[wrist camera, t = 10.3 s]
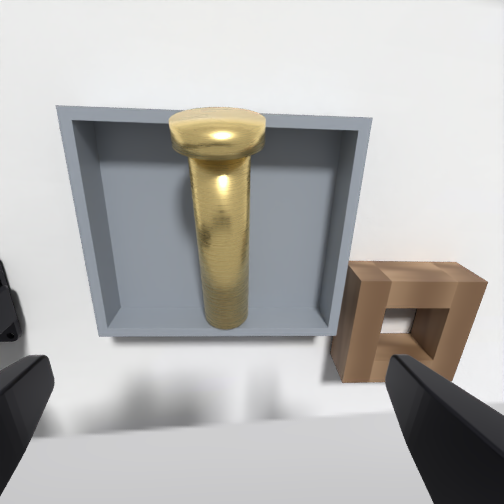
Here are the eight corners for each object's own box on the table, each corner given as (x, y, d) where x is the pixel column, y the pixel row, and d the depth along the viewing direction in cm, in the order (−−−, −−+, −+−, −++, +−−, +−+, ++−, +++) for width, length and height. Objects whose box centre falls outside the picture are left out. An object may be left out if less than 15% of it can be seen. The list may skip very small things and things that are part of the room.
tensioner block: (330, 353, 24) (342, 382, 22) (345, 260, 21) (361, 281, 19) (427, 352, 25) (452, 381, 22) (456, 262, 22) (488, 282, 19)
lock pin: (259, 336, 19) (270, 133, 11) (193, 338, 19) (160, 133, 11) (255, 289, 22) (261, 107, 15) (198, 291, 22) (175, 106, 14)
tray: (116, 309, 22) (98, 336, 19) (84, 108, 17) (55, 105, 14) (323, 310, 23) (336, 335, 20) (351, 118, 18) (372, 117, 15)
